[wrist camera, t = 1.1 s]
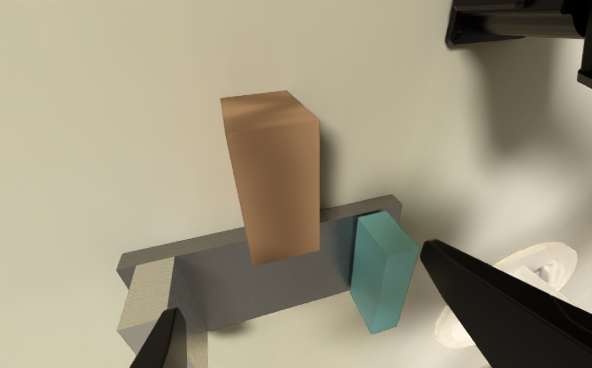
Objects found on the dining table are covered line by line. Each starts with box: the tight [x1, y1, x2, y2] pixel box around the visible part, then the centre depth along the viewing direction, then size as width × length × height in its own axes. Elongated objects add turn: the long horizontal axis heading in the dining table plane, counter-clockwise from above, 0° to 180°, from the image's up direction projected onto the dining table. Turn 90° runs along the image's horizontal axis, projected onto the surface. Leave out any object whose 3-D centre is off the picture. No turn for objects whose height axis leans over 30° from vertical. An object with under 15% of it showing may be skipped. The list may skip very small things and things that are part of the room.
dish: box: [436, 241, 577, 348], centre depth 39 cm, size 25×25×11 cm
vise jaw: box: [350, 211, 420, 335], centre depth 22 cm, size 2×10×4 cm, turn 3°
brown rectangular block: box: [220, 90, 320, 267], centre depth 15 cm, size 4×8×6 cm, turn 2°
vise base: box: [116, 195, 402, 368], centre depth 21 cm, size 22×10×6 cm, turn 92°
